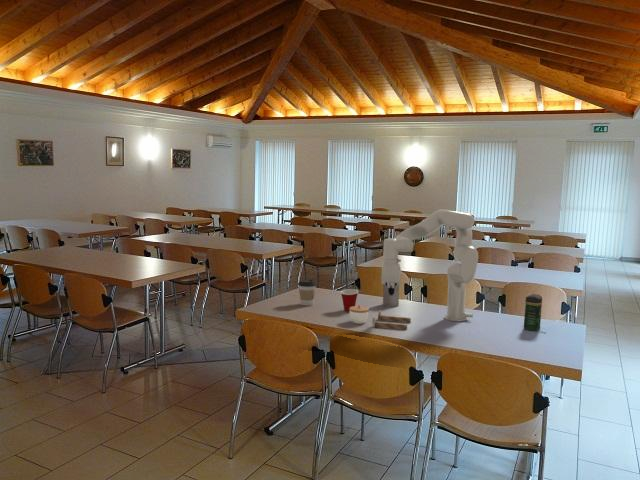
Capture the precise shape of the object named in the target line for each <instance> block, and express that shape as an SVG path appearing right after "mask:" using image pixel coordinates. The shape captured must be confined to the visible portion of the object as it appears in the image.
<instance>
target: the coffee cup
mask: <svg viewBox="0 0 640 480" xmlns="http://www.w3.org/2000/svg"><path fill="white" fill-rule="evenodd" d="M297 285H298V288H299V289H298V290H299V298H300V304H302V305H301V306H303V305H312V304H313V305H314V302H315V301H314V299H315V292H316V287H317V282H316V280H314V279H308V278H307V279H306V278H305V279H304V278H303V279H300V280H299V281H298V283H297ZM313 305H312V306H313Z"/></svg>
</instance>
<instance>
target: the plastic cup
mask: <svg viewBox="0 0 640 480" xmlns="http://www.w3.org/2000/svg"><path fill="white" fill-rule="evenodd" d="M339 293H340V295H341V297H342V298H341V299H342V304H343V310H344V312H347V313H348V312H349V308H350V307H353V306H356V304H357V303H356V302H357V298H358V294H359V290H358V289H354V288H353V289H352V288H348V289H347V288H346V289H342V290H340V292H339Z"/></svg>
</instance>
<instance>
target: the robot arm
mask: <svg viewBox="0 0 640 480" xmlns="http://www.w3.org/2000/svg"><path fill="white" fill-rule="evenodd" d="M474 225H475V218H474V216H473V215H472V214H470V213H466V212H460V211H459V212H458V211H454V210H450V209H444V208H443V209H442V208H441V209H437V210H436V211H434V212H432V213H431V214H430V215H428V216H427V217H426V218H424V219H423V220H422V221H420V222H418V223H417V224H415V225H412V226H411V227H408V228H406V229H404V230H402V231H401V232H400V233H399V234H397V235H396V236H395V237H394V238H392V237H390V238H385V239H383V263H382V265H381V285H383V284H384V285H386V286H387V287H388V292H389V293H390V295H393V294H394V287H395V286H396V285H399V286H400V285H402V271H401V265H400V264H401V261H402V260H401V259H400V258H399V252H403V253H407V252H410V251H412V249H413V248H414V242H413V241H415V240H417V239H420V238H425V237H428V236H430V235H432V234H434V232H436V231H437V230H438V229H440V228H441V227H444V226H447V227H450V228H454V229H455V231H456V238H455V242H454V243H455V244H454V248H453V254H452V255H453V258H454V259H455V260H457V261H458V262H454V263H451V264H450V265H449V266H448V268H447V271H446V272H447V286H448V287H447V306H446V307H447V309H446V310H447V311H446V314H445V315H443V318H444V320H446V321H451V322H466V321H467V320H468V318H473V313H471V312H469V313H468V312H466V293H467V291H466V290H467V289H466V284H470V283H472V281H474V279H475V275H476V271H477V267H478V263H479V262H478V261H479V252H478V250H477V249H476V248H475V247H474V246H472V242H473V230H472V228H473V226H474ZM459 262H460V263H459ZM390 283H393V284H392V287H391V285H390Z"/></svg>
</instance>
